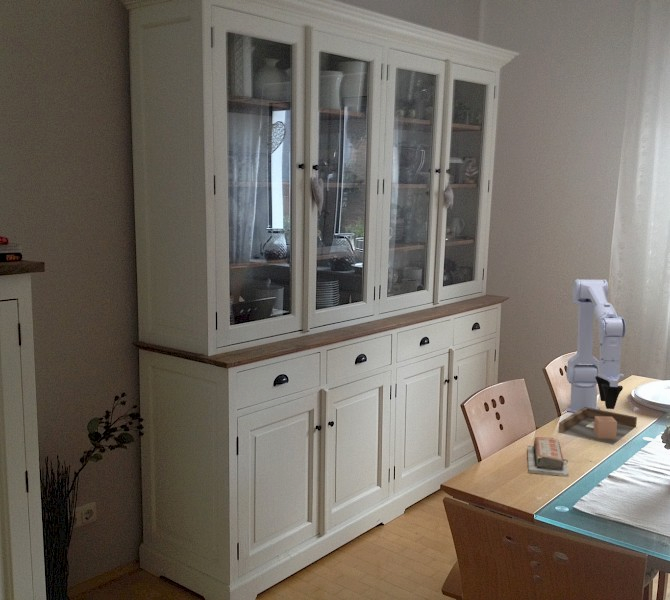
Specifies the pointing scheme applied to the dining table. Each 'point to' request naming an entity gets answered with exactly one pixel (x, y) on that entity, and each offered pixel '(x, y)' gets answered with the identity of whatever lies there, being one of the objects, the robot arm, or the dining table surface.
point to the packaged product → (546, 457)
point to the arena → (584, 424)
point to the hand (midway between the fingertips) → (607, 404)
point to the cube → (605, 427)
